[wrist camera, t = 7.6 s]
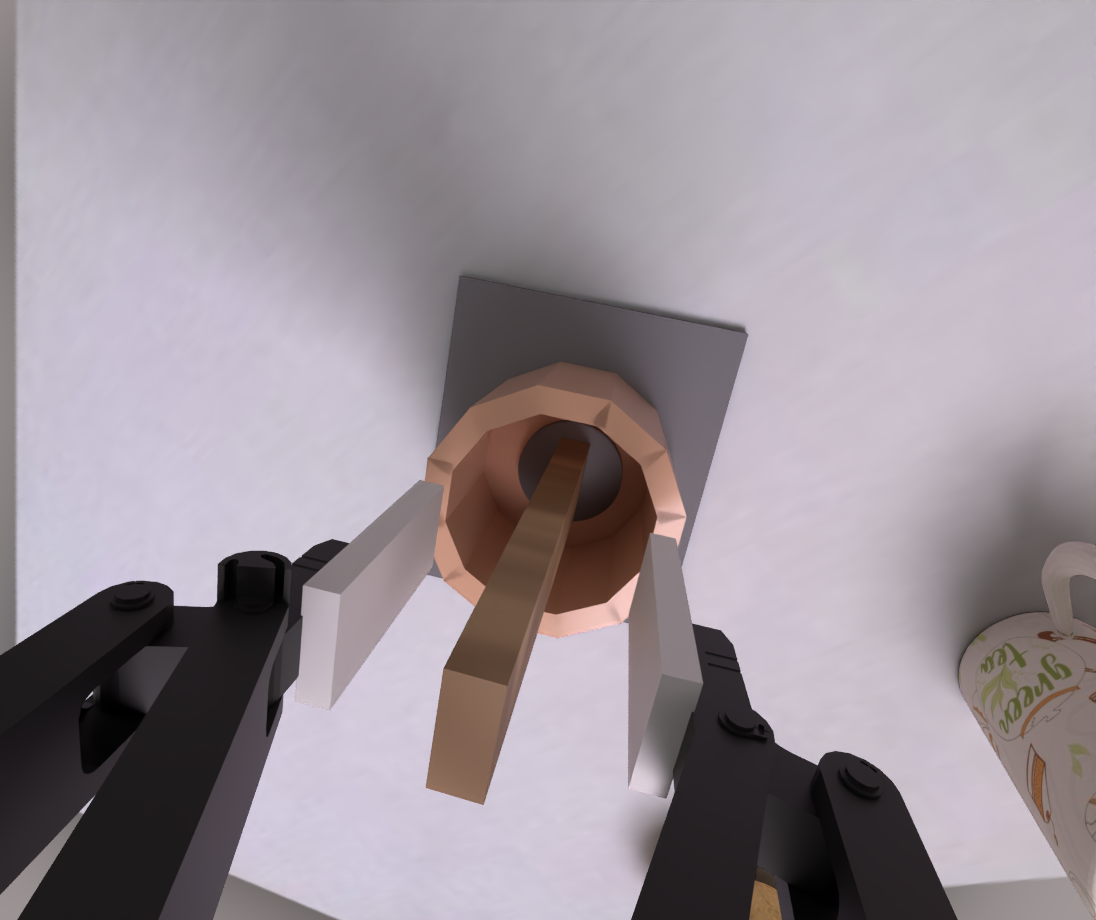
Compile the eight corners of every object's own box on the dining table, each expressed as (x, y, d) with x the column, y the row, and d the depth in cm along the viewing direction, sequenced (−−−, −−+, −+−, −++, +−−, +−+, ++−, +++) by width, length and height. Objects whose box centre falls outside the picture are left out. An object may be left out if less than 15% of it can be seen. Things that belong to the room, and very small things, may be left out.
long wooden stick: (530, 409, 24) (363, 614, 11) (633, 433, 24) (603, 679, 10) (513, 503, 26) (348, 790, 12) (610, 527, 26) (555, 852, 12)
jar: (487, 345, 25) (440, 363, 19) (692, 388, 24) (713, 422, 18) (457, 532, 28) (408, 601, 21) (642, 575, 27) (646, 660, 21)
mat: (462, 276, 25) (459, 275, 24) (746, 333, 24) (748, 333, 23) (421, 569, 29) (418, 572, 29) (662, 626, 28) (663, 631, 28)
